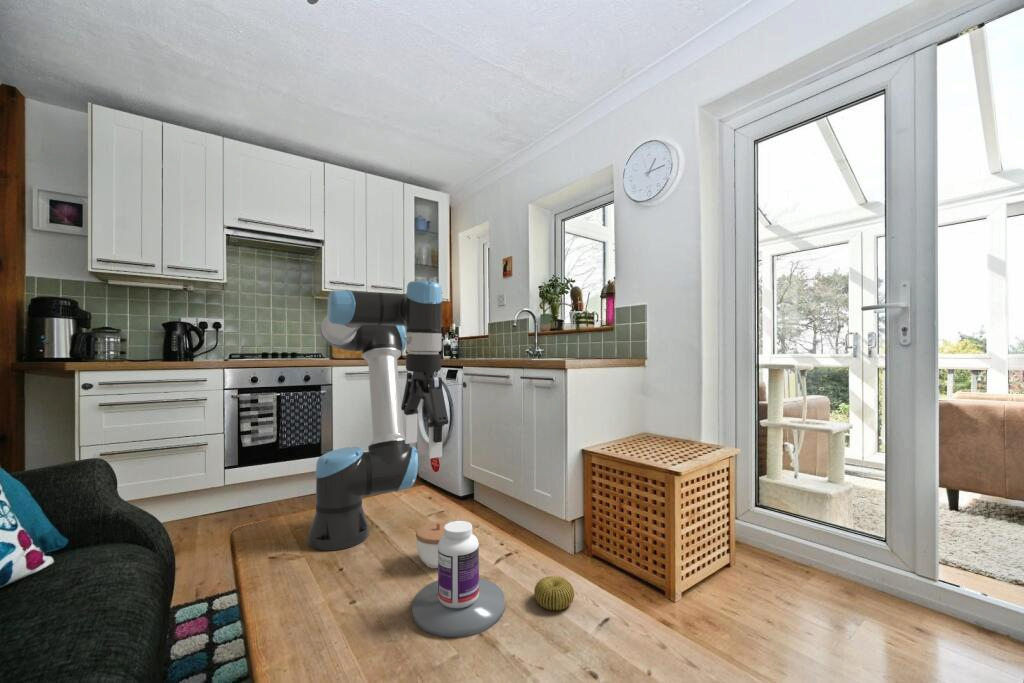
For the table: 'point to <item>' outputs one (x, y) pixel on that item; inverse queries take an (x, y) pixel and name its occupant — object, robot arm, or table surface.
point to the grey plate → (458, 611)
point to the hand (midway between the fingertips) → (422, 449)
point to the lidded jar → (430, 542)
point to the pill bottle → (458, 565)
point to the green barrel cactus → (554, 593)
